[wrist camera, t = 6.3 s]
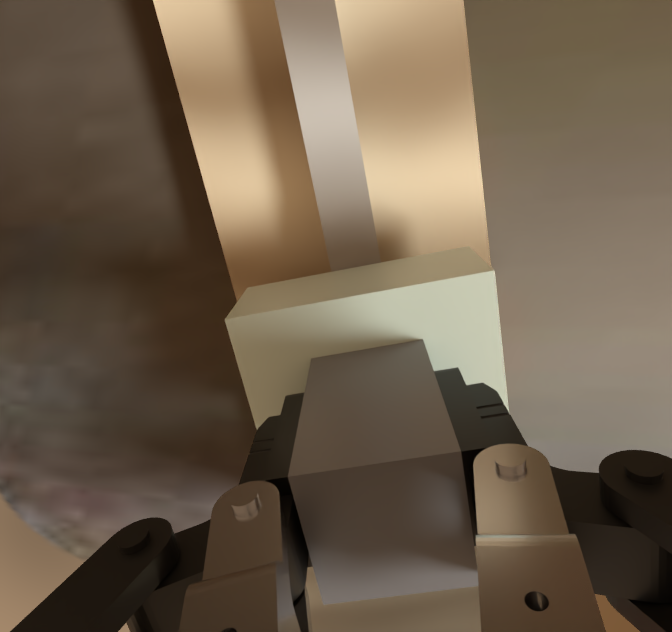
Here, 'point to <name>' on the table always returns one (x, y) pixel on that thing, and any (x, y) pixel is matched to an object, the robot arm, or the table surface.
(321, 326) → the block
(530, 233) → the table surface
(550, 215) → the table surface
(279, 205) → the rail base
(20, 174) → the table surface
